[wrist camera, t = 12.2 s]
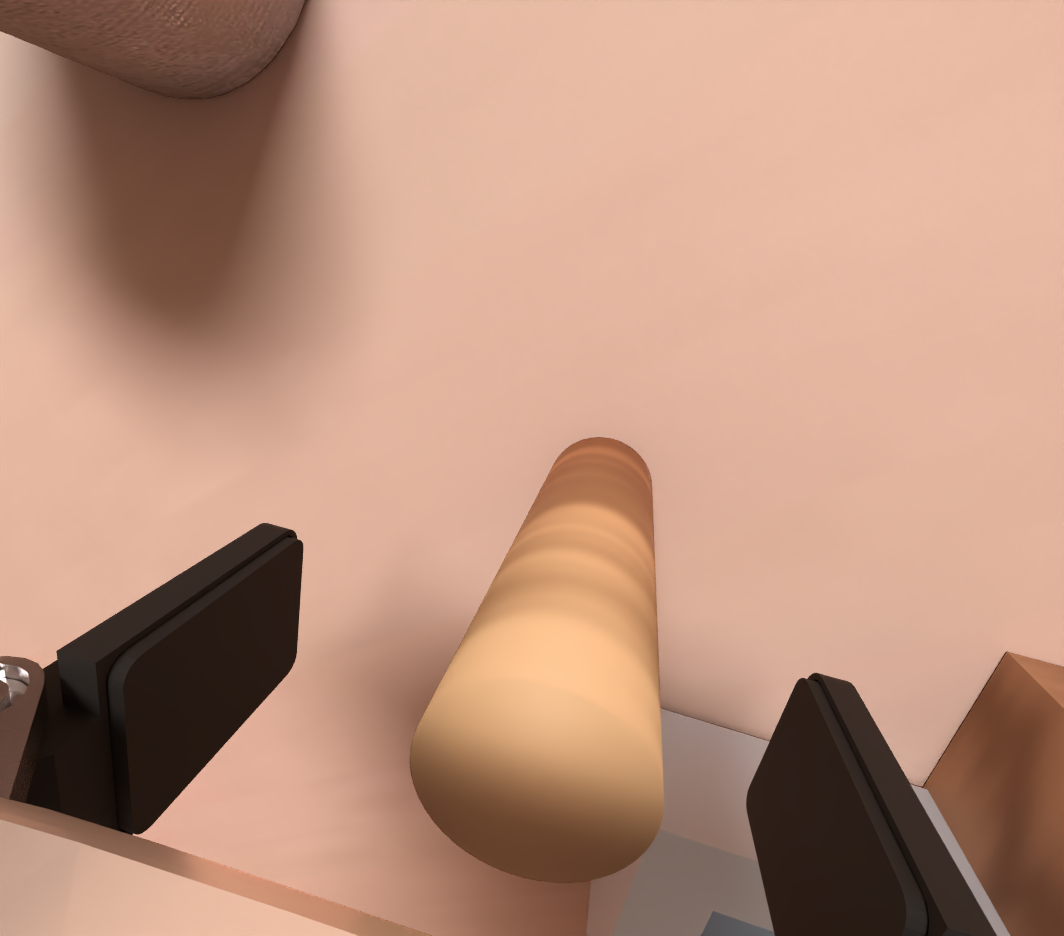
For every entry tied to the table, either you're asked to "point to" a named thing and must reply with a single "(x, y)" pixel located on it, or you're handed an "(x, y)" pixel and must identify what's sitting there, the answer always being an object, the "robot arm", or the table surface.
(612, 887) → the socket block
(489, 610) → the oak dowel
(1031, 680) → the walnut wall
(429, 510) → the table surface
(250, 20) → the pillar candle
